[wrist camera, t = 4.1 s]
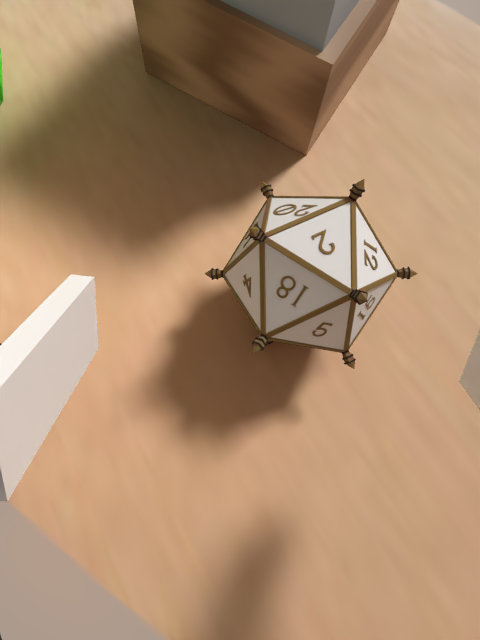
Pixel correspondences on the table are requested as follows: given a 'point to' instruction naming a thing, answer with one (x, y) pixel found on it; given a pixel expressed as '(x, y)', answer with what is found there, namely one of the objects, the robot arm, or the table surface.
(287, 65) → the tower base
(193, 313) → the table surface
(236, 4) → the tower top
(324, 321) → the game die
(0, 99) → the plastic bottle
